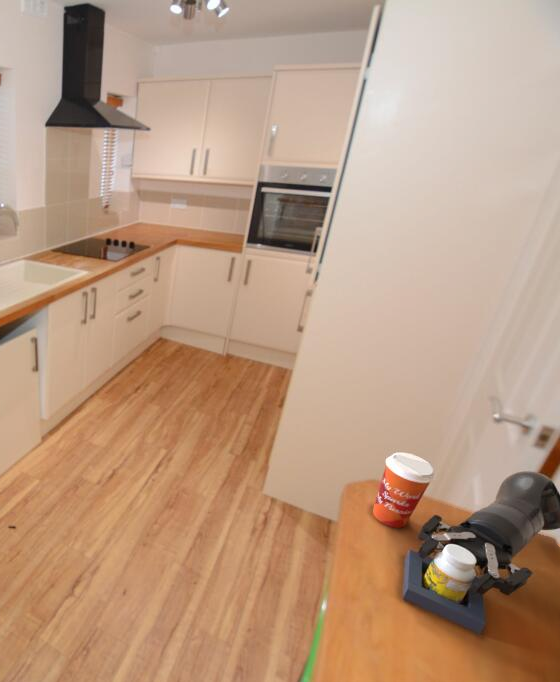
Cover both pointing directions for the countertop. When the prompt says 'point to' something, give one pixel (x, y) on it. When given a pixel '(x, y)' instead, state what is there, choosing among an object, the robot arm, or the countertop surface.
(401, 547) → the countertop surface
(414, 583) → the bottle holder
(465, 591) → the supplement bottle
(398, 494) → the paper cup
